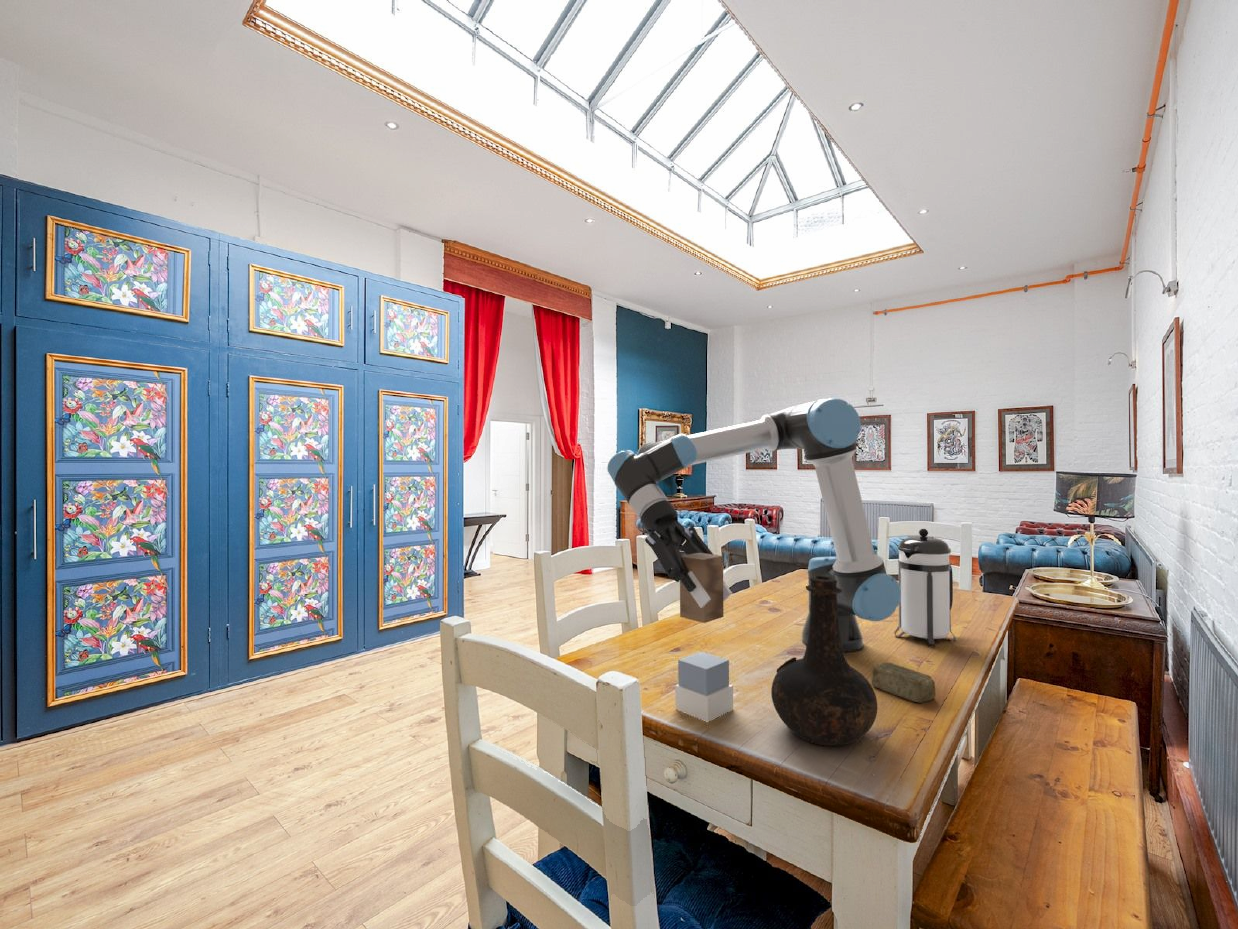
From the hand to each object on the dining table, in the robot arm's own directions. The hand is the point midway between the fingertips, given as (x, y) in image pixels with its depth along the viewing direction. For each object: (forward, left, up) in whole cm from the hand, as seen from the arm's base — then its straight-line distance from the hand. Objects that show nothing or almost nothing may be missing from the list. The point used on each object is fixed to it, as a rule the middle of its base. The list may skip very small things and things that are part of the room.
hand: (716, 600), depth 108 cm
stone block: (-36, -21, -22) cm, 47 cm away
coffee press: (-49, -64, -22) cm, 83 cm away
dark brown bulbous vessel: (-19, +2, -22) cm, 29 cm away
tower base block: (+3, -2, -22) cm, 23 cm away
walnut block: (+3, -2, -4) cm, 5 cm away
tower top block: (+3, -2, -17) cm, 18 cm away
